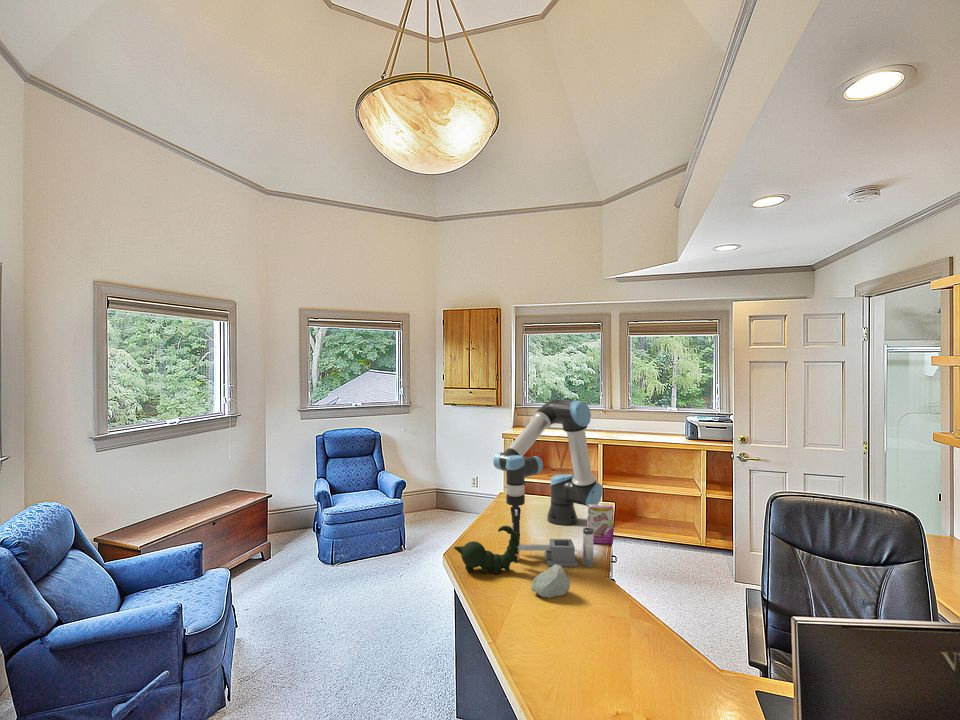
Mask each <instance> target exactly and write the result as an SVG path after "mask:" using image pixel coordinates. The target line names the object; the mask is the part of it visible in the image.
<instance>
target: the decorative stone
mask: <svg viewBox="0 0 960 720" xmlns="http://www.w3.org/2000/svg"><path fill="white" fill-rule="evenodd" d="M570 581H571V580H570V577H569V576H568V575H567V573H566V571H565V570H564V568H563V566H561V565H557V564H555V565H553V566H550V567H549V568H548V569H546V570H545V571H542V572H540V573H539V574H537V576H535V577H534V578H533V580H532V582H531V585H530V589H531V591H532V592H535V593H536V594H537V595H539V596H540V597H541V598H548V599H551V598H555V597H561V596H565V595H567V593H568V591H569V590H570V588H571V585H570Z"/></svg>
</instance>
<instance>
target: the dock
mask: <svg viewBox="0 0 960 720" xmlns="http://www.w3.org/2000/svg"><path fill="white" fill-rule="evenodd" d="M549 545H551V551H543V552H544V553H543V554H544V558H545V563H546V566H547V567H552V566H553V565H555V564H557V565H561V566H562V567H577V568H578V566H579V564H578V561H577V559H576V556H575V554H576V553H575V552H576V551H575V549H576V547H575V545H574V542H573V541H572V539H571V538H570V539H569V538H562V539H561V538H549Z"/></svg>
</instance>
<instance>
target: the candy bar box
mask: <svg viewBox="0 0 960 720" xmlns="http://www.w3.org/2000/svg"><path fill="white" fill-rule="evenodd" d="M586 507H587V513H586V515H587V516H586V517H587V518H586V519H587V521H586V523H587V525H586V528H591V529H593V530H594V533H593V544H598V545H599V544H600V545H614V507H613V505H612V504H598V505H594V504H588V506H586Z"/></svg>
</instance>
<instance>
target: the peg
mask: <svg viewBox="0 0 960 720" xmlns="http://www.w3.org/2000/svg"><path fill="white" fill-rule="evenodd" d="M593 533H594V530H593V529H591V528H587V527H584V528H582V534H583V536H582V537H583V538H582V539H583V540H582V542H583V543H582V548H583V549H582V566H584V567H588V568H590V567H593V566H594V543H593Z"/></svg>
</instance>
